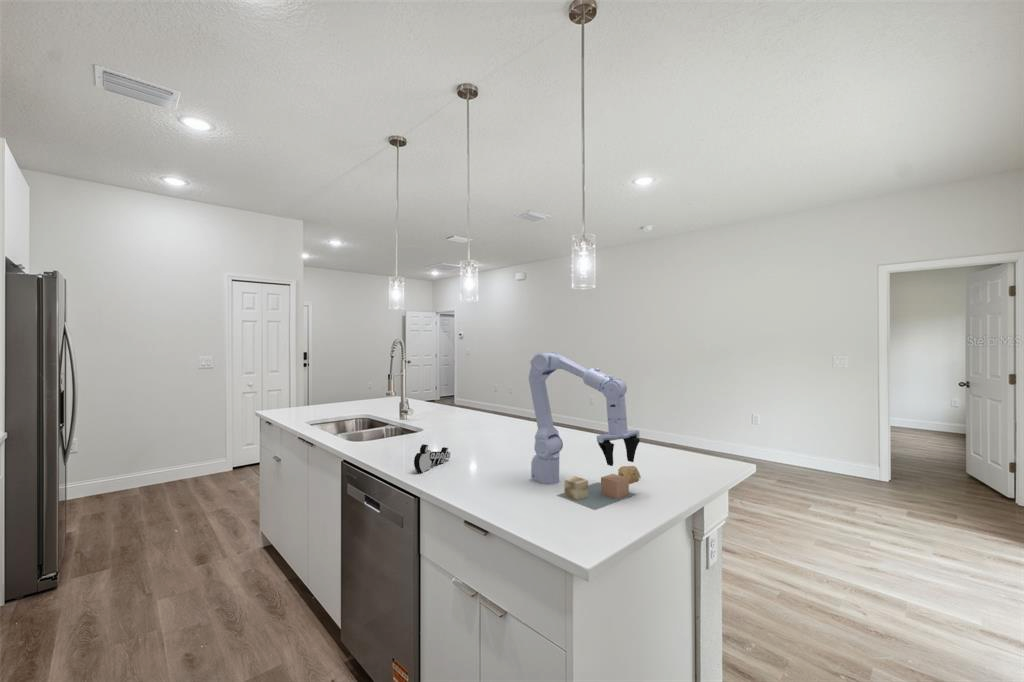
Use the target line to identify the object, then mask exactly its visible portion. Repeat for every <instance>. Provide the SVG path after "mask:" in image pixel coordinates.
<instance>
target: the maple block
mask: <svg viewBox="0 0 1024 682" xmlns="http://www.w3.org/2000/svg"><path fill="white" fill-rule="evenodd" d="M588 485H589V480H587V479H584V478H582V477H579V476H576V475H575V476H572V477H569V478H565V479H564V492H563V493H564V496H566V497H569V498H571V499H574V500H576V501H577V500H580V499H583V498H586V497H588Z"/></svg>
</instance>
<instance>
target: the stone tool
mask: <svg viewBox="0 0 1024 682" xmlns="http://www.w3.org/2000/svg"><path fill="white" fill-rule="evenodd" d="M617 471H618V473H617V475H619V476H623V477H626V478H629V484H635V483H638V482H639V480H640V479H641V478H642V477H641V474H640V471H639V469H638V467H636V466H635V465H628V466H627V465H625V466H621V467H619V468H618V470H617Z"/></svg>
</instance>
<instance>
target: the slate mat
mask: <svg viewBox="0 0 1024 682" xmlns="http://www.w3.org/2000/svg"><path fill="white" fill-rule="evenodd" d="M634 496H637V493H633V492H630V491H629V495H626V496H623V497H621V498H618V499H616V498H613V497H610V496H607V495H604V494H601V482H598V481H597V482H595V483H591V484H588V497H586V498H583V499H580V500H577V501H576V500H574V499H571V498H569V497H566V496H564V492H561V493H559V494H556V497H560V498H561V499H565V500H567V501H570V502H572V503H575V504H578V505H580V506H583V507H586V508H588V509H591V510H593V511H597V510H600V509H601V508H605V507H606V506H610V505H613V504H615V503H618V502H621V501H623V500H626V499H629V498H631V497H634Z"/></svg>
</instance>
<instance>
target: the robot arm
mask: <svg viewBox="0 0 1024 682" xmlns="http://www.w3.org/2000/svg"><path fill="white" fill-rule="evenodd" d="M530 366H531V367H530V369H529V374H528V383H529V388H530V393H531V399H532V405H533V409H534V413H535V414H534V415H535V420H536V421H535V422H536V427H537V431H536V432H535V435H534V440H535V441H534V442H535V443H534V446H533V447H534V452H535V455H534V456H533V457H532V459H531V465H530V466H531V469H530V470H531V471H530V473H531V475H530V479H529V481H537V482H538V483H540V484H544V485H556V484H558V483H560V452H561V451H562V449H563V447H564V442H563V439H562V438H561V436H560V435H559V430H558V429H557V428H556V427H555V426H554V422H553V421H554V420H553V414H552V411H551V405H550V404H551V403H550V399H549V394H548V389H547V384H546V381H547V379H548V378H549V376H550V375H551V374H552V373H554V372H556V371H557V370H560V369H561V370H564V371H565V372H568V373H570V374H572V375H574V376H576V377H579V378H581V379H582V380H583V383H584V384H585V385H587V386H588V387H590V388H592V389H594V390H596V391H598V392H600V393H602V394H603V395H602V396H604V397H605V401H606V415H607V416H606V417H607V428H608V429H607V430H608V432H607V433H603V434H599V435H596V443H597V445H598V446H599V448H600V449H601V451H602V453H603V456H604V458H605V462H606V464H607V466H610V467H613V466H614V447H615V443H612V442H611V441H617V440H622V441H623V442H624V445H625V450H626V459H627V462H629V463H630V462H631V463H634V461H635V455H636V450H637V448H638V445H639V443H640V440H641V439H640V430H638V429H632V430H631V429H630V430H628V420H627V418H628V417H627V405H626V397H625V395H626V393H627V390H628V388H627V385H626V383H625V382H624V380H622V379H621V378H614V376H613V375H611V374H609V375H608V374H606V373H604V372H602V371H601V369H600V368H598V367H595V368H593V367H591V368H588V369H587V368H586V367H584V366H582V365H580V364H578V363H577V362H575V361H573V360H571V359H570V358H568V357H565V356H564V355H562V354H558V353H557V352H555V351H554V352H537V353H536V354H535V355H533V357H532V358H531V360H530Z"/></svg>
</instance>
